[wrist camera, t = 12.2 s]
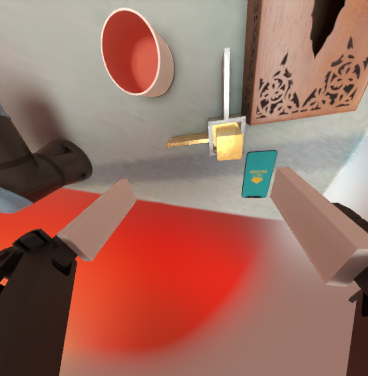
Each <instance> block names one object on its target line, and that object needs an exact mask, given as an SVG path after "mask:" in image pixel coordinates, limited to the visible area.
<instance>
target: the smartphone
mask: <svg viewBox="0 0 368 376" xmlns="http://www.w3.org/2000/svg"><path fill="white" fill-rule="evenodd" d="M276 156H277V151H275V150H270V151H255V152H248V153H247V157H246V165H245V173H244V180H243V186H242V197H243V198H265V197H266V196H267V192H268V188H269V184H270V180H271V176H272V172H273V168H274V164H275V160H276Z"/></svg>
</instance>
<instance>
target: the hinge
mask: <svg viewBox="0 0 368 376" xmlns="http://www.w3.org/2000/svg"><path fill="white" fill-rule="evenodd" d="M229 62H230V47H228V48H224V53H223V57H222V116H221V117H215V118H209V120H208V132H207V133H200V134H193V135H186V136H178V137H173V138H172V139H170V140H169V141H168V142H167V143H166V147H174V146H182V145H190V144H199V143H207V142H209V150H210V156H217V147H216V127H217V126H223V125H230V124H235V125H236V126H237V128H238V129H239V130H240V131H241V132H242V133H243V147H242V153H244V140H245V128H246V116H245V115H243V114H241V113H239V114H233V115H229Z"/></svg>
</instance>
